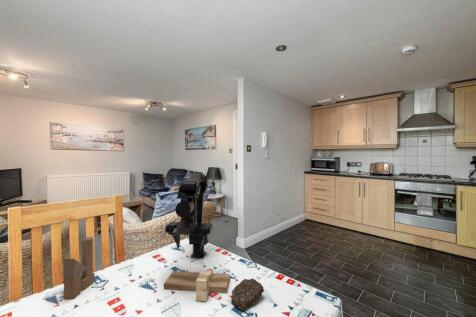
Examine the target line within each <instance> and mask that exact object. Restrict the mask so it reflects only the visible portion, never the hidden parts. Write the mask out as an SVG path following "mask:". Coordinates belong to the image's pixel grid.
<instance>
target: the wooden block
mask: <svg viewBox="0 0 476 317" xmlns="http://www.w3.org/2000/svg"><path fill="white" fill-rule="evenodd" d="M93 265H94V238H93V236H87V237H84V238H82V239H81V261H78V260H77V259H75V258H63V299H64V300H73V299H75V298H76V297H78V296H79V295H80V294H81V292H82V291H83V290H86V289H87V288H89V287H90V286H91V285H92V284H93V283H95V280H96V279H95V278H96V277H95V275H96V274H95V272H94V266H93Z"/></svg>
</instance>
